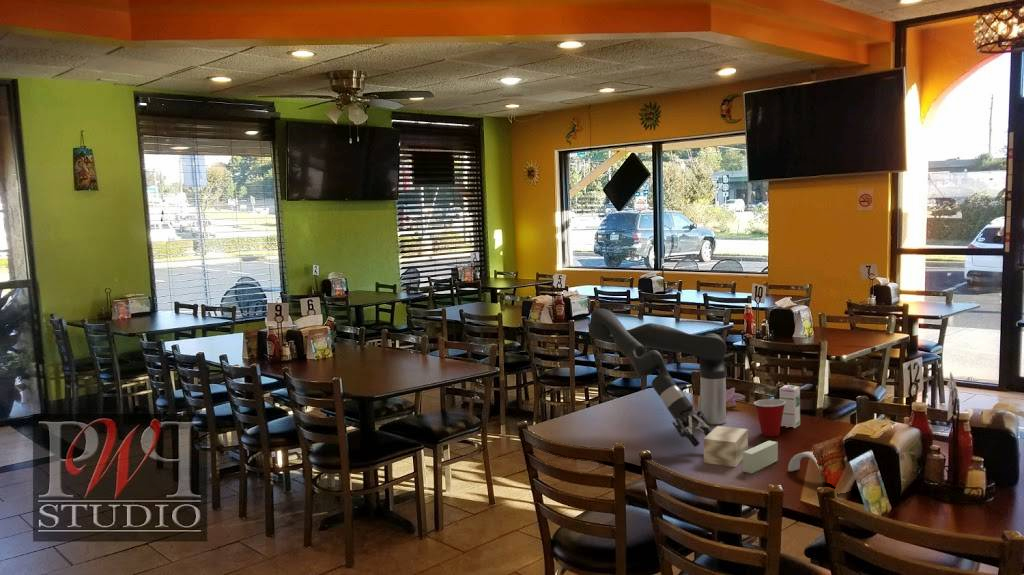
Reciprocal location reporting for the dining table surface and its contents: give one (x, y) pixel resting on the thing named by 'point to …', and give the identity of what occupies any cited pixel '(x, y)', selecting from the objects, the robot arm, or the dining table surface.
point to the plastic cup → (770, 415)
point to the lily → (732, 396)
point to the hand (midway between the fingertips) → (705, 442)
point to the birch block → (725, 446)
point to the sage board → (760, 456)
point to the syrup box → (790, 405)
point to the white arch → (795, 461)
